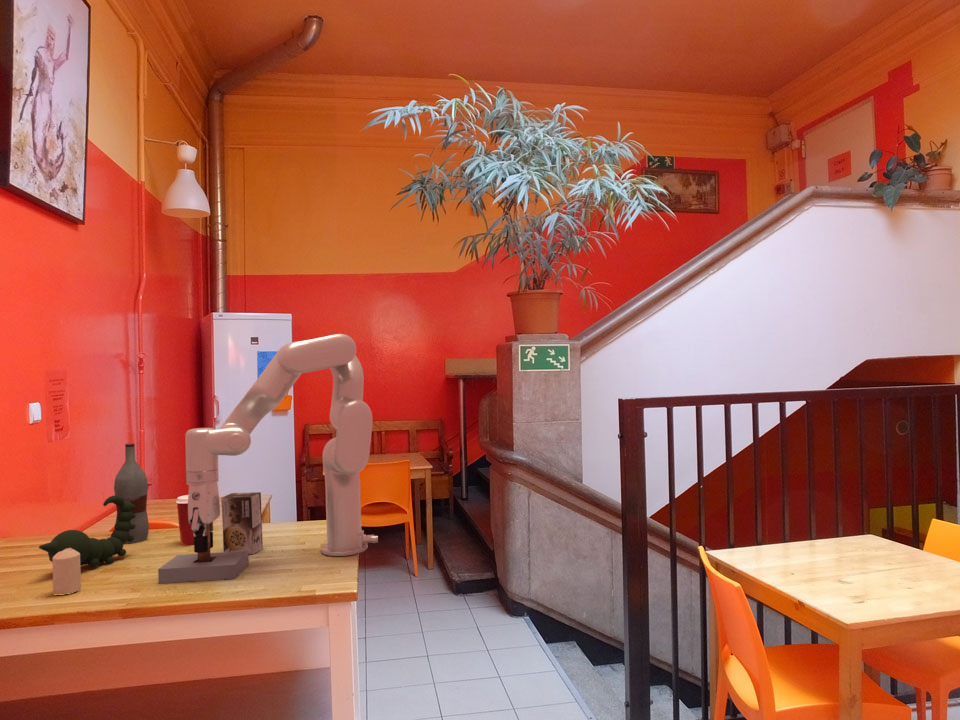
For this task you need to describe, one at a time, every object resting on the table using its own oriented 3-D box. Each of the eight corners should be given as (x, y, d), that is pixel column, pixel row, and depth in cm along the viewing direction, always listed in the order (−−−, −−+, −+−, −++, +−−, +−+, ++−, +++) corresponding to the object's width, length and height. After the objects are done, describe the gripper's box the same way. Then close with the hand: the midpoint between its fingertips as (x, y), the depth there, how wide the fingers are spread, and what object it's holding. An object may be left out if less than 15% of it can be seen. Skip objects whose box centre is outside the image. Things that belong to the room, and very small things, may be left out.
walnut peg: (212, 560, 163) (211, 520, 163) (208, 563, 160) (207, 523, 160) (200, 560, 162) (199, 521, 163) (195, 564, 159) (195, 523, 160)
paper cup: (210, 541, 193) (209, 494, 193) (186, 547, 186) (185, 499, 187) (194, 538, 197) (193, 493, 197) (171, 544, 191) (170, 497, 191)
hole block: (248, 564, 168) (248, 550, 168) (234, 579, 156) (234, 564, 156) (177, 568, 166) (177, 554, 166) (158, 583, 154) (158, 569, 154)
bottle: (108, 544, 194) (105, 445, 194) (130, 536, 202) (128, 441, 203) (134, 545, 192) (131, 445, 192) (156, 537, 200) (153, 441, 201)
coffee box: (263, 548, 183) (262, 491, 183) (253, 554, 177) (251, 496, 177) (233, 548, 184) (231, 492, 184) (222, 554, 178) (220, 496, 178)
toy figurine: (117, 559, 182) (25, 579, 160) (121, 492, 184) (30, 502, 162) (140, 562, 179) (48, 583, 156) (144, 494, 180) (53, 504, 158)
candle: (61, 588, 153) (60, 547, 153) (85, 587, 154) (84, 545, 154) (48, 596, 148) (47, 553, 148) (73, 595, 148) (71, 552, 148)
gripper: (206, 481, 154) (208, 558, 153) (227, 471, 170) (229, 540, 169) (174, 483, 153) (175, 560, 153) (198, 472, 169) (200, 542, 169)
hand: (203, 549), depth 161 cm, fingers closed on walnut peg, 3 cm apart
